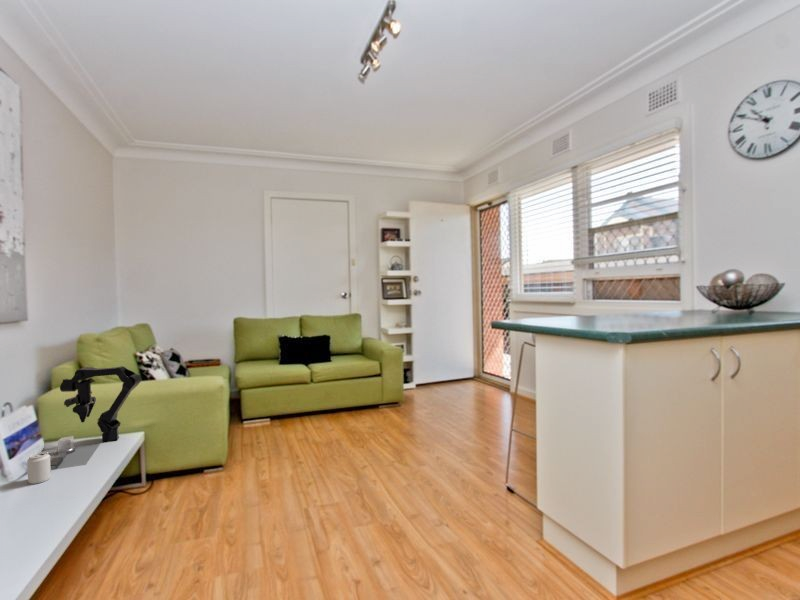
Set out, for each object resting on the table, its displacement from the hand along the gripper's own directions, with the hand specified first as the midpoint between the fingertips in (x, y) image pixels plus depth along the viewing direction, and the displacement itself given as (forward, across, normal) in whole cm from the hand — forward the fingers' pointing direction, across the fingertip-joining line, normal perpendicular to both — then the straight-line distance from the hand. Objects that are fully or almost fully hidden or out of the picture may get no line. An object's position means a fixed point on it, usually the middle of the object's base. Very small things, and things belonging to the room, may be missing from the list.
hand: (85, 419), depth 222 cm
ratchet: (+12, +23, -5) cm, 26 cm away
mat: (+12, +21, -1) cm, 24 cm away
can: (+12, +45, -6) cm, 47 cm away
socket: (+10, +14, -5) cm, 18 cm away
